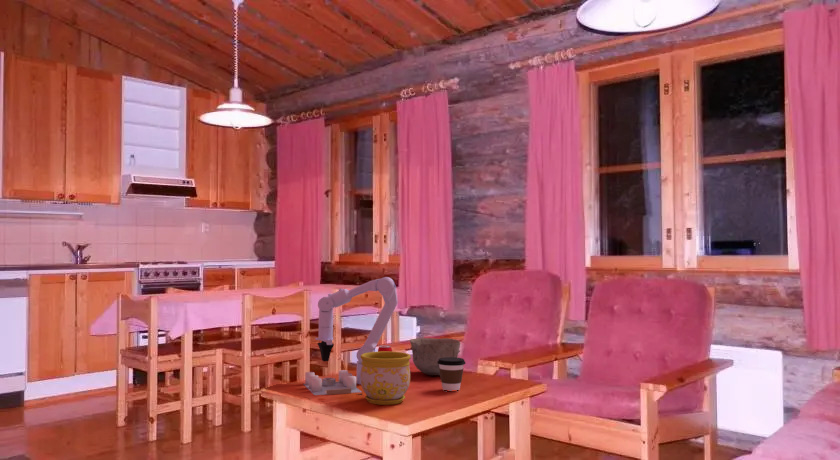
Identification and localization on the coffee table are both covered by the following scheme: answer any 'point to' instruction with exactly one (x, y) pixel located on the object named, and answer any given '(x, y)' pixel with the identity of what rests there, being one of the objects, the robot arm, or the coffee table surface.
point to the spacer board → (342, 387)
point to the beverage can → (384, 348)
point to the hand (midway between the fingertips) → (325, 360)
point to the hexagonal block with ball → (328, 382)
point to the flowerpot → (385, 376)
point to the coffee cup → (451, 372)
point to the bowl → (432, 353)
